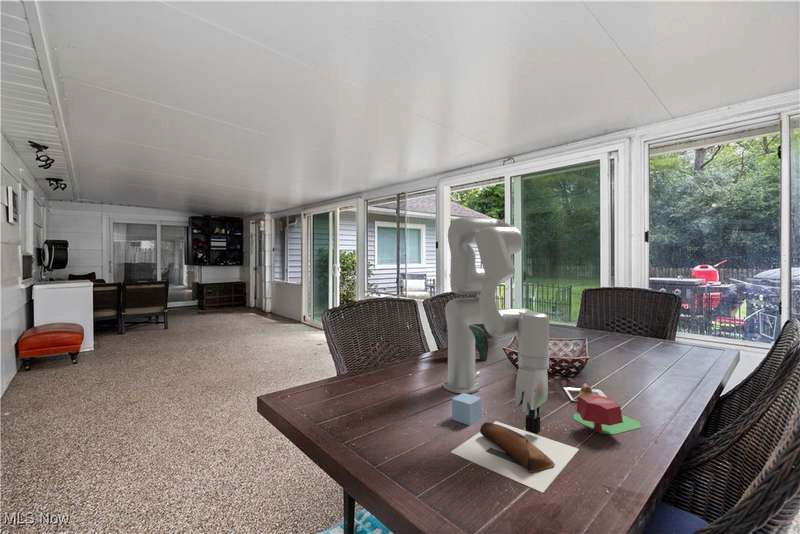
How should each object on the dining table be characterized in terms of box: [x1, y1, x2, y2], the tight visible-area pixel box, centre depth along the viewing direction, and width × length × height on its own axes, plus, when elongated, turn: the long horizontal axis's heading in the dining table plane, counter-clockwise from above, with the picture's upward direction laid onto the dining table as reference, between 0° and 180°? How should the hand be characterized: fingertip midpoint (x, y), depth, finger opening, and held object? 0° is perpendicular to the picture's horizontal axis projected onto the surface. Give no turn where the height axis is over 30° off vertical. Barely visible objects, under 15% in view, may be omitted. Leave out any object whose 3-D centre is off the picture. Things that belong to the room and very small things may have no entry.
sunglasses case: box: [479, 421, 555, 473], centre depth 87 cm, size 18×7×7 cm
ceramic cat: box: [442, 320, 489, 362], centre depth 166 cm, size 20×6×20 cm, turn 80°
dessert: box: [562, 383, 607, 403], centre depth 121 cm, size 12×12×5 cm
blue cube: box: [451, 393, 483, 426], centre depth 105 cm, size 6×6×6 cm
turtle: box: [573, 393, 642, 436], centre depth 101 cm, size 15×20×9 cm
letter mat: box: [450, 420, 580, 494], centre depth 87 cm, size 22×22×1 cm
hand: (532, 431), depth 95 cm, fingers closed
